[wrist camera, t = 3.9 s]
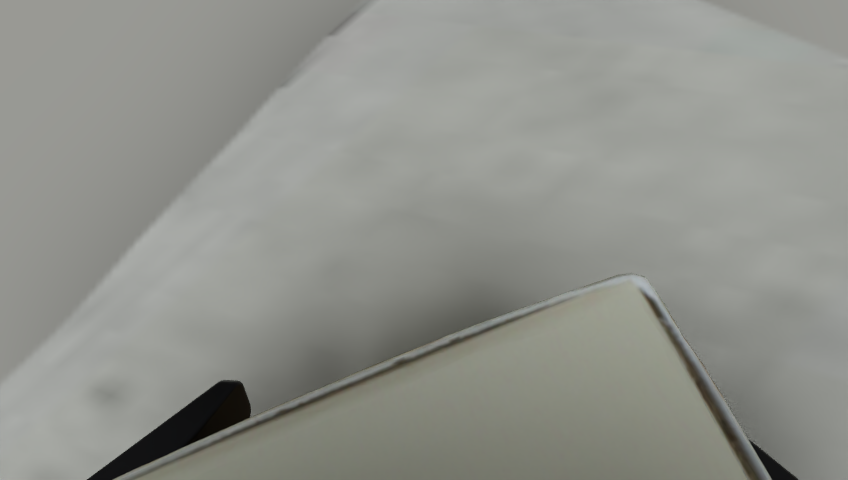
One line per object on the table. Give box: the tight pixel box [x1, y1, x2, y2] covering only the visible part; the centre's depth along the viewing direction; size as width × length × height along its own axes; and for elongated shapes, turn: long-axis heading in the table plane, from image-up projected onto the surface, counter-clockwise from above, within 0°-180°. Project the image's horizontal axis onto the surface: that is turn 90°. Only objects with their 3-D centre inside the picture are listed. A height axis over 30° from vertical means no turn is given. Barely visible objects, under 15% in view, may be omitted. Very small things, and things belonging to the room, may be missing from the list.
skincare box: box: [113, 273, 772, 480], centre depth 9 cm, size 6×4×12 cm
